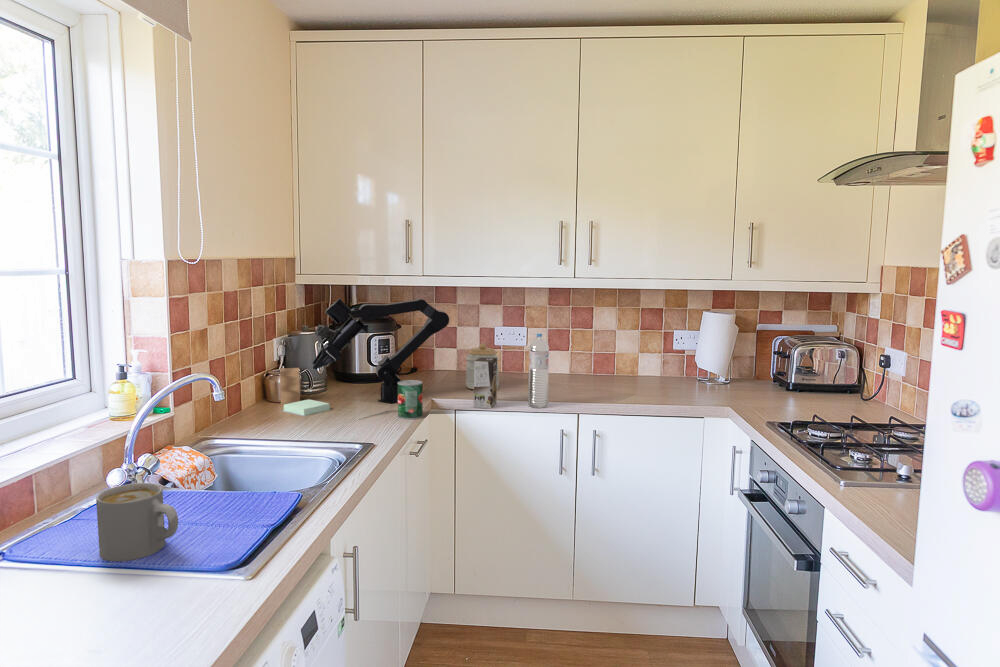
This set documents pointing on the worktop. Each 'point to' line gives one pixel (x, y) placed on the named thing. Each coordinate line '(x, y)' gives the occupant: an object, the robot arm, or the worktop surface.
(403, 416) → the canned tomato
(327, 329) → the robot arm
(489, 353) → the jar
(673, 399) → the worktop surface
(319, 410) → the sage top slab
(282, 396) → the walnut post
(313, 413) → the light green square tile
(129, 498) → the coffee mug
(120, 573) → the worktop surface
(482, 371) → the coffee box
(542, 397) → the water bottle
